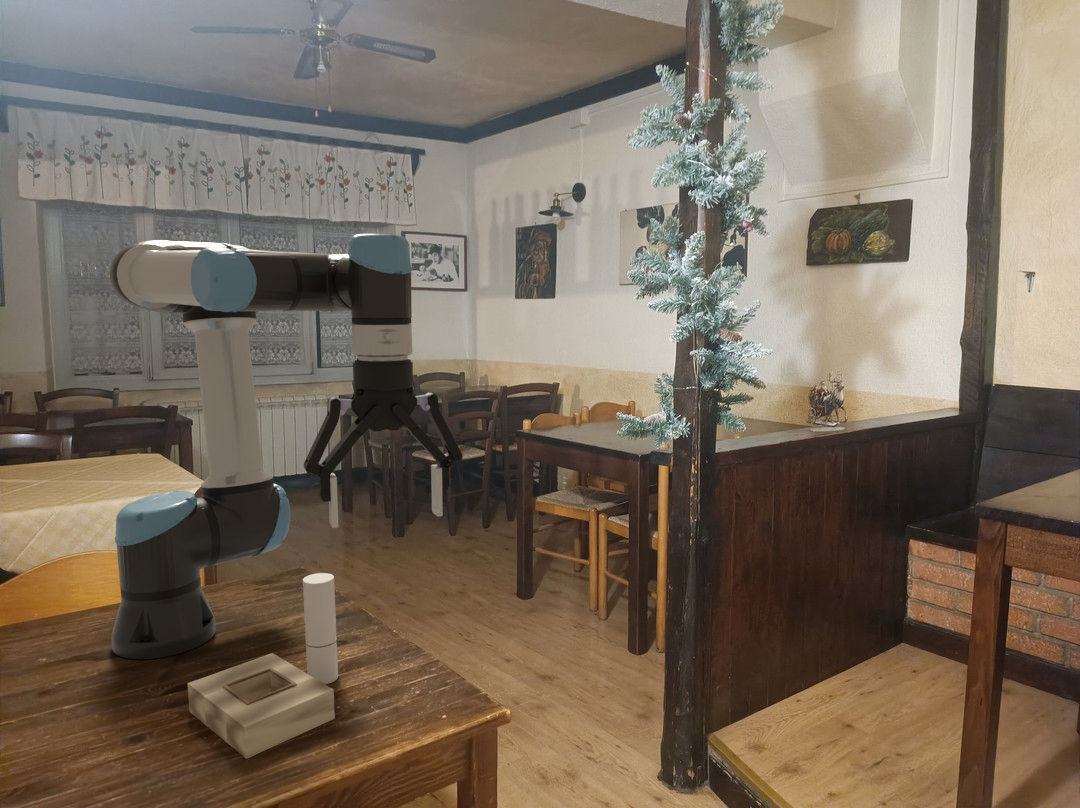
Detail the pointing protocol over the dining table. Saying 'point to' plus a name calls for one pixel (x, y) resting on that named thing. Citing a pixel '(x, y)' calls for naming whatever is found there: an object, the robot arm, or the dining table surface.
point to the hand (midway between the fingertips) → (386, 519)
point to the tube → (320, 627)
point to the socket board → (260, 703)
